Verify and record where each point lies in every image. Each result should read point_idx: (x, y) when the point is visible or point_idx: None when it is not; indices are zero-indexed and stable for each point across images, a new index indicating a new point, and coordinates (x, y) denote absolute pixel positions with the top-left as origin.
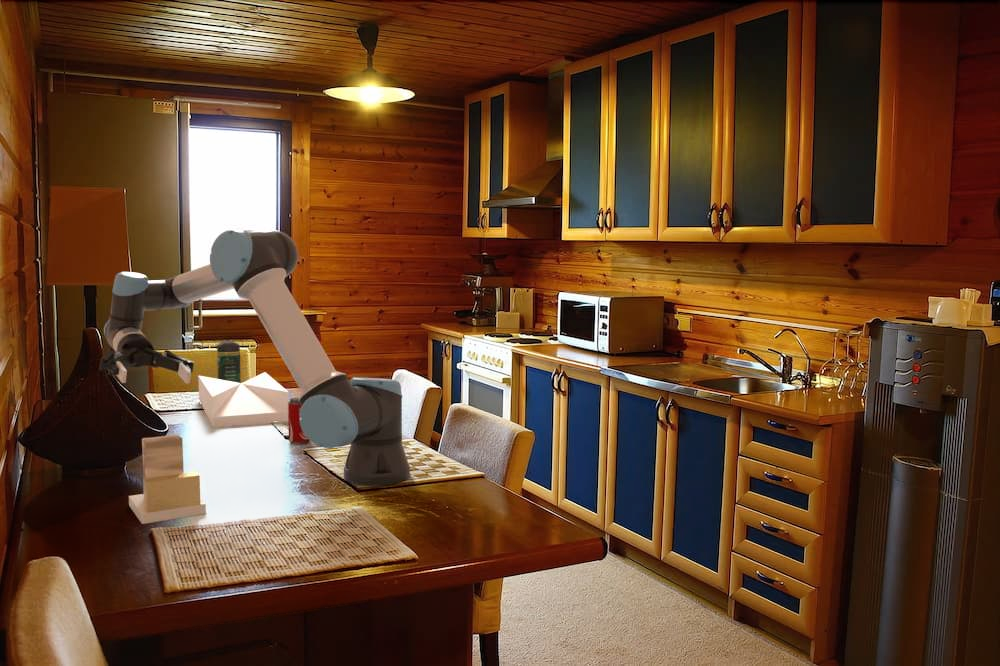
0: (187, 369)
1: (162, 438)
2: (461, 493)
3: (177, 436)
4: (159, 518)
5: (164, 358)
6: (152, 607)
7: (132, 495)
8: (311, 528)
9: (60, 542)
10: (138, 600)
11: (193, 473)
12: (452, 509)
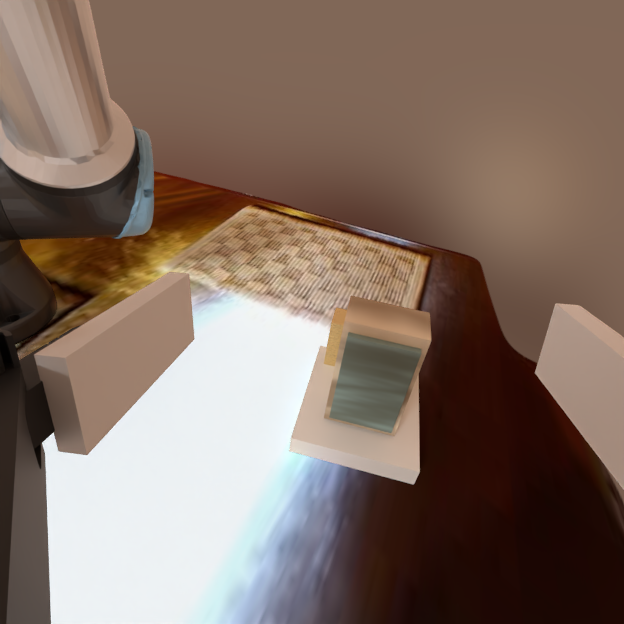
0: (150, 288)
1: (388, 315)
2: None
3: (353, 310)
4: None
5: (10, 554)
6: (443, 249)
7: (411, 470)
8: (257, 263)
9: (529, 392)
10: (451, 259)
11: (339, 318)
12: None
